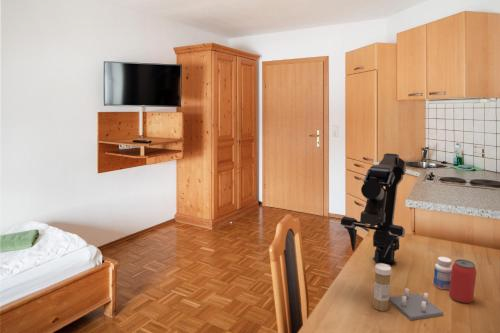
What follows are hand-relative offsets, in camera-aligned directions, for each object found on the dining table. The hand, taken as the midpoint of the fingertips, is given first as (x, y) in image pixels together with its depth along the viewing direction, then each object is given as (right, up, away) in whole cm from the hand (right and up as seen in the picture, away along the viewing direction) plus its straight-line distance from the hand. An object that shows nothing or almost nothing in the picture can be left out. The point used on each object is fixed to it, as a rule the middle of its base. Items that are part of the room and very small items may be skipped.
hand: (367, 254), depth 112 cm
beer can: (+31, -15, +3) cm, 34 cm away
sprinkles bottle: (+3, -16, -2) cm, 16 cm away
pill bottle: (+29, -14, +10) cm, 33 cm away
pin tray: (+13, -16, -2) cm, 21 cm away
